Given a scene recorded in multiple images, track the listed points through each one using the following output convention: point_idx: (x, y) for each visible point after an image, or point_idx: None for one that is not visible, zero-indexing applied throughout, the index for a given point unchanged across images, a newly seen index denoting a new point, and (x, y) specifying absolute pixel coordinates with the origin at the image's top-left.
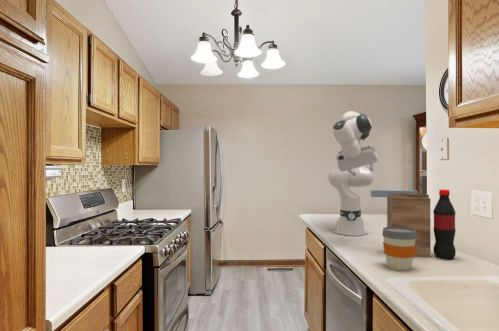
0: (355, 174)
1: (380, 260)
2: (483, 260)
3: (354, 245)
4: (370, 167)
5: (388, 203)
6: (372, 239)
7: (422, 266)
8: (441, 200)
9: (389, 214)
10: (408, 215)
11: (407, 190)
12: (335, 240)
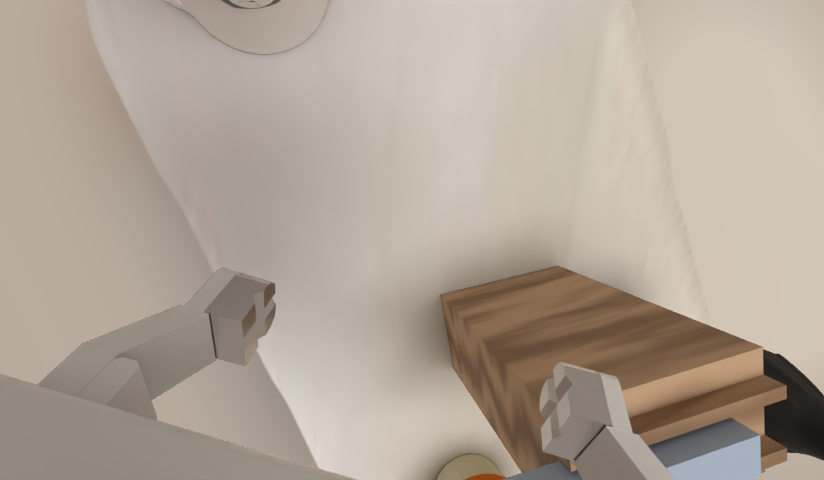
0: (266, 322)
1: (416, 443)
2: (696, 306)
3: (311, 265)
4: (580, 431)
5: (532, 425)
6: (381, 104)
7: None
8: (802, 451)
9: (507, 412)
10: None
11: (708, 455)
12: (207, 194)
